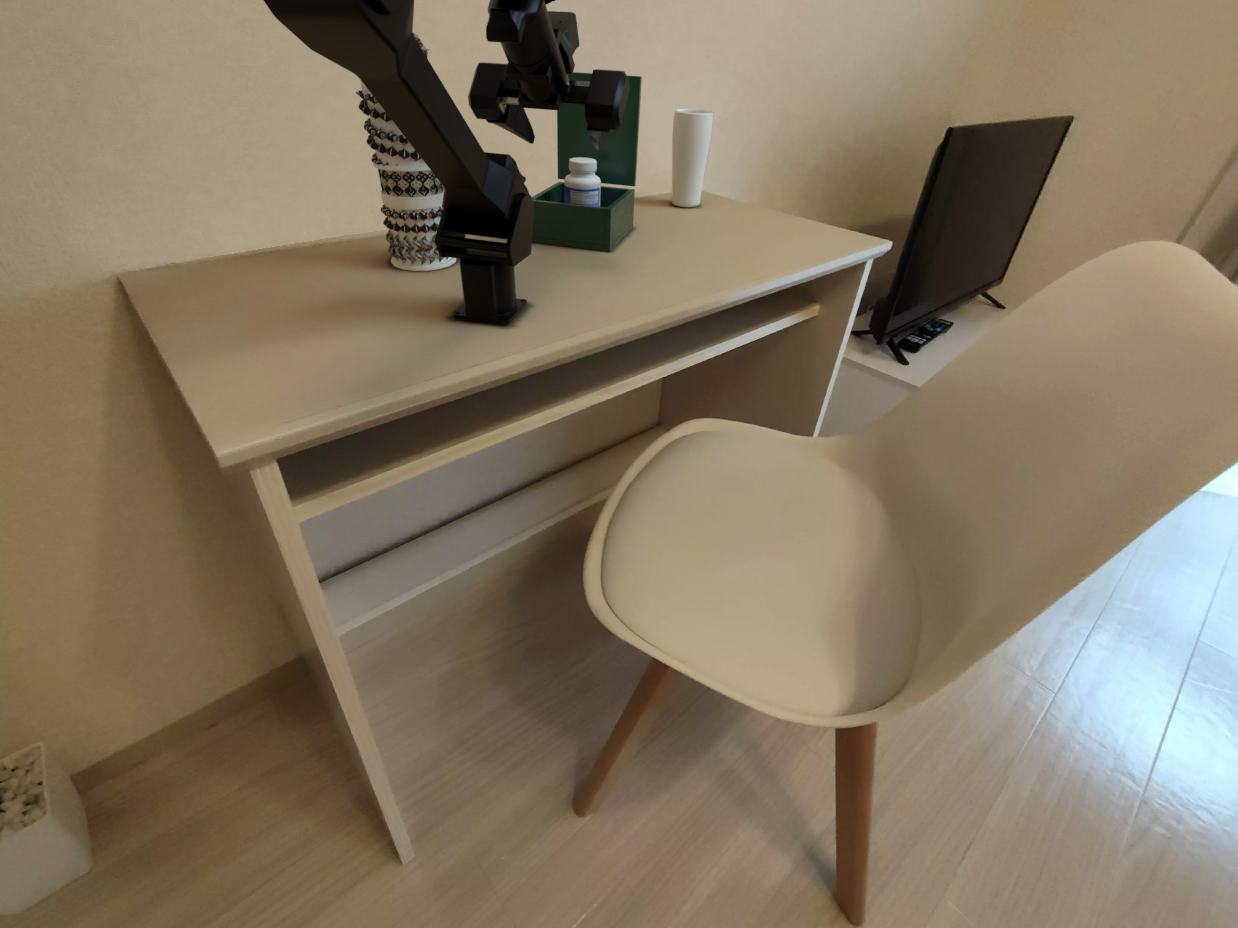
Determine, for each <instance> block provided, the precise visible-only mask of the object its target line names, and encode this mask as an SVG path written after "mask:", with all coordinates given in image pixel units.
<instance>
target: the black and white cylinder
mask: <svg viewBox="0 0 1238 928" xmlns="http://www.w3.org/2000/svg"><path fill="white" fill-rule="evenodd" d="M413 35H414V37H415V39H416V41H417V42H418V44H419V46H420V47H421V49H422V51H423V52H424V54H425V56H426V57H427V58H428V53H429V52H428V51H430V49H429V48H428V47H426V46H425V45H424V43H423V41H422V40H421V38H420V37H419V36H418V34H416V33H415V32H413ZM359 80H360V79H359ZM360 86H361V87H360V88H361V90H357V91H355V93H356V95H358V97H360V98H361V99H362V100H360V101H359V104H358V106H357V107H358V110H360V111H361V112H362V114H364V115H365V116H367V117H368V118H367V119H366V120H365V121H364V124H363V129H364V131H366V132H367V134H369V135H368V136H367V139H366V144H367V145H368V146H369V148H370V149H372V150H374V151H375V152H374V153H373V154H372V155H371V157H372V158H371V163H372V165H373V166H374V168H376V169H377V171H378V178H379V182H380V187H381V189H380V197H381V201H382V204H383V205H382V206H381V207H380V212H381V213H382V214H383V215H384V216H385V218H384V220H383V222H382V224H383V225H384V226H385V227H386V228H387V229H388V231H387V233H386V234H385V240H386V241H387V243H389V246H388V247H387V251H388V253H389V254H390V255H391V256H392V257H391V259H390V262H391V264H392V266H393V267H394V268H397V269H399V270H400V269H401V270H405V271H412V272H428V271H435V270H442V269H444V268H448V267H451V266H452V265H453V264H456V263H457V259H458V258H451V257H446V258H444V257H440V255H439V252H438V250H437V247H436V244H435V236H436V233H437V229H438V226H439V222H440V219H441V215H442V212H443V208H442V202H443V196H444V190H445V188H444V186H443V185H442V184H441V182H440V181H439V180H438V178H437V177H436V176H435V175H434V173H433V172H432V171H431V169H430V168H429V167H428V166H427V164H426V163H425V162H424V160H423V159H422V158H421V157H420V155H419V154H418V153H417V151H416V150H415V149H414V148H413V146H412V145H411V144H410V142H409V141H408V140H407V139H406V137H405V136H404V135H403V133H402V132H401V131H400V130H399V128H398V127H397V126H396V124H395V123H394V122H393V121H392V119H391V118H390V117H389V115H388V114H387V113H386V112H385V110H384V109H383V108H382V107H381V105H380V104H379V103H378V101H377V100H376V99H375V98H374V96H373V95H372V94H371V92H370V91H369V90H368V89H367V87H366V86H365V85H364V83H363V82H362V81H361V80H360Z"/></svg>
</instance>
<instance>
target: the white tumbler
mask: <svg viewBox="0 0 1238 928" xmlns="http://www.w3.org/2000/svg"><path fill="white" fill-rule="evenodd" d="M713 126H714V111H712V110H707V109H699V108H698V109H696V108H679V109H675V110H674V115H673V122H672V132H671V133H672V135H671V136H672V137H671V196H670V201H671V204H672V205H674V206H676V207H681V208H696V207H698V206H700V203H701V199H702V191H703V185H704V180H705V173H706V168H707V165H708V164H707V163H708V157H709V153H710V147H711V141H712V136H713V135H712V134H713Z"/></svg>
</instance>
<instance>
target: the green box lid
mask: <svg viewBox="0 0 1238 928" xmlns="http://www.w3.org/2000/svg"><path fill="white" fill-rule="evenodd" d="M591 76H592V72H578V71H576V72H575V71H573V74H569V75H568V79H569V80H573V81H589V82H590V80H591ZM627 76H628V80H629V85H630V90H629V94H628V98H627V103H626V107H625V111H624V115H623V119H622V123H621V126H620V127H619V128H617V129H616V130H611V131H610V132H608V133H603V134H602V141H601V146H600V149H599V150H597V149H596V148H595V147H594V145H593V143H592V141H591V138H590V136H589V134H588V131H587V125H588V123H587V122H586V119H585V104H571V103H561V106H560V110H556V129H557V130H556V136H557V137H556V139H557V141H556V142H557V145H556V146H557V149H556V150H557V180H563V181H564V180H565V177H566V176H567V175H569V174H570V173H571V171H570V170H569V160H570V159H571V158H578V157H582V158H592V159H595V160H596V161H597V169H596V172H595V175H596V176H598V177H599V178H600V180H601V184H605V185H616V186H627V187H636V186H637V185H636V184H637V168H638V167H637V166H638V152H639V151H638V150H639V135H640V134H639V132H640V114H641V97H642V80H643V79H642V78H643V77H642V76H640V75H627Z"/></svg>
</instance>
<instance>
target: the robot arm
mask: <svg viewBox="0 0 1238 928" xmlns="http://www.w3.org/2000/svg"><path fill="white" fill-rule="evenodd" d="M263 2H264V3H265V5H266V6H267V8H268V9H269V11H270V12H271V14H272V15H273V16H274V18H276V19H277V21H279V22H280V23H281V24H282V25H283V26H284V27H285V28H286V29H287V30H288V31H290V32H291V33H292V35H294V36H295V37H296V38H297V39H299V41H301V42H302V43H303V44H304V45H305V46H306V47H307V48H309V49H310V51H312V52H314V53H316V54H318V55H320V56H322V57H324V58H325V59H327V60H328V61H331V62H332V63H334V64H336V65H338V66H339V67H341V68H343V69H345V70H347V71H348V72H350V73H352V74H354V75H355V76H356V77H358V79H359V80H361V81H362V82H363V83H364V85H365V86H366V87H367V89H368V90H369V91H370V92H371V94H372V95H373V96H374V98H375V99H376V100H377V101H378V103H379V104H380V105H381V107H382V108H383V109H384V110H385V112H386V113H387V114H388V115H389V117H390V118H391V119H392V121H393V122H394V123H395V124H396V126H397V127H398V128H399V130H400V131H401V132H402V133H403V135H404V136H405V137H406V139H407V140H408V141H409V142H410V144H411V145H412V146H413V148H414V149H415V150H416V151H417V153H418V154H419V155H420V157H421V158H422V159H423V160H424V162H425V163H426V164H427V166H428V167H429V168H430V169H431V171H432V172H433V173H434V175H435V176H436V177H437V178H438V180H439V181H440V182H441V184H442V185H443V186H444V188H445V190H444V196H443V202H442V208H443V212H442V215H441V219H440V222H439V226H438V229H437V233H436V236H435V244H436V247H437V250H438V252H439V255H440V257H444V258H446V257H451V258H457V259H458V263H459V272H460V280H461V287H462V296H463V297H462V298H463V303H462V304H461V305H460V306H458V308H457V309H455V310H453V312H452V318H453V319H457V320H464V321H474V322H482V323H490V324H496V325H497V324H498V325H510V324H511V323H512V322H513V321H514V320H515V319H516V318H517V316H518V315H520V313H521V312H522V311H523V310H524V309H525V308H526V306H528V300H527V299H525V298H517V289H516V275H515V272H516V271H515V267H516V266H517V265H519V264H521V262H523V261H524V260H525V259H527V258H528V257H529V256H531V254H532V246H533V245H532V244H533V242H532V233H533V221H534V203H533V199H532V197H533V196H532V195H531V194H530V192H529V189H528V187H527V185H526V184H525V182H526V181H527V178H526V176H525V175H524V176H523V174H522V173H521V171H520V168H519V167H518V164H517V161H516V160H515V159H514V158H513V157H512V156H511V154H507V153H497V152H487V151H485V150H484V149H483V148H482V146H481V144H480V142H479V141H478V140H477V138H476V136H475V135H474V133H473V131H472V129H471V127H470V126H469V125H468V123H467V121H466V120H465V118H464V117H463V115H462V113H461V112H460V110H459V108H458V107H457V105H456V103H455V101H454V100H453V98H452V96H451V95H450V93H449V92H448V90H447V88H446V86H445V85H444V84H443V82H442V80H441V78H440V77H439V75H438V74H437V72H436V70H435V69H434V67H433V66H432V63H431V62H430V61H429V59H428V56H427V57H426V56H425V54H424V52H423V51H422V49H421V47H420V46H419V44H418V42H417V41H416V39H415V37H414V35H413V33H414V32H413V29H414V13H415V0H263ZM552 2H556V0H489V2H488V6H487V14H488V20H487V23H486V27H485V38H486V41H487V42H489V43H500V45H501V48H502V50H503V52H504V55H505V57H506V60H507V63H502V62H501V63H499V62H478V64H477V66H476V67H475V70H474V74H473V77H472V81H471V85H470V88H469V92H468V95H467V100H468V106H469V109H471V112H472V114H473V115H474V116H475V118H476V119H478V120H485V122H487V123H488V124H493V125H495V126H497V127H499V128H501V129H503V130H505V131H507V132H508V133H511V134H513V135H515V136H516V137H518V138H520V139H521V140H523V141H524V142H526V143H529V144H531V145H534V142H535V138H536V135H535V132H534V129H533V127H532V124H531V122H530V119H529V117H528V114H527V112H526V109H532V110H533V109H535V110H546V111H547V110H548V111H557V110H560V106H561V103H571V104H585V119H586V122H587V123H588V125H587V131H588V134H589V136H590V138H591V141H592V143H593V145H594V147H595V148H596V149H597V150H599V149H600V146H601V141H602V134H603V133H608V132H610V131H611V130H616V129H617V128H619V127H620V126H621V123H622V119H623V115H624V111H625V107H626V103H627V98H628V94H629V90H630V85H629V80H628V76H629V75H627V73H626V72H625V71H624V70H617V69H616V70H615V69H597V68H596V69H592V72H591V73H592V76H591V80H590V82H589V81H573V80H569V79H568V75H569V74H573V72H575V71H574V70H575V67H576V64H575V59H574V57H573V56H574V54H575V52H576V50H577V48H579V47H580V38H579V29H578V21H577V14H576V13H574V12H572V11H557V10H555V11H554V10H548V8H547V5H548V4H549V5H550V4H551V3H552ZM466 235H468V236H476V237H484V238H491V239H499V240H507V241H506V242H501V241H494V240H485V239H477V238H469V237H466Z"/></svg>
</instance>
